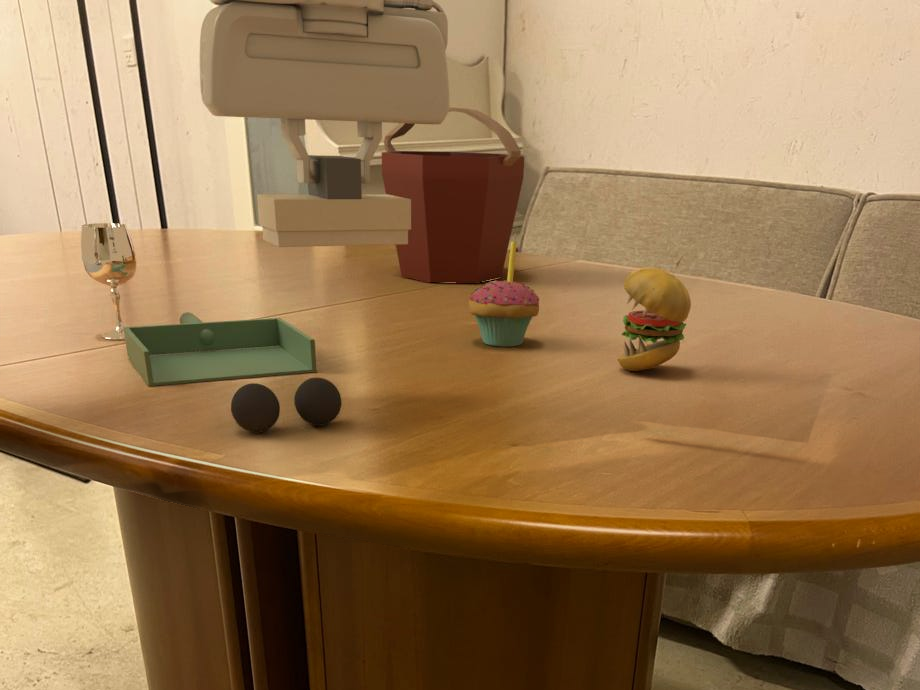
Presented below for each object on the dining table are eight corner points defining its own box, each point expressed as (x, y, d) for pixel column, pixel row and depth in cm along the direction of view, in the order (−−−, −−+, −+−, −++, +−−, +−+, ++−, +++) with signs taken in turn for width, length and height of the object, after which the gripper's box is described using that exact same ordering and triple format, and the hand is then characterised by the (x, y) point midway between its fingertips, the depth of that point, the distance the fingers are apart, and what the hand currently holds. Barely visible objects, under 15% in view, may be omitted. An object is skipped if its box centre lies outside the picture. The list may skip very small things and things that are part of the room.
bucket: (357, 271, 159) (351, 104, 147) (453, 262, 173) (455, 108, 160) (451, 291, 144) (453, 106, 132) (549, 280, 157) (559, 110, 145)
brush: (411, 244, 81) (411, 159, 78) (277, 247, 76) (271, 157, 73) (389, 238, 85) (388, 156, 81) (260, 240, 80) (253, 153, 76)
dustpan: (316, 371, 97) (314, 339, 95) (148, 386, 90) (143, 351, 88) (258, 330, 114) (256, 302, 113) (114, 340, 107) (109, 310, 106)
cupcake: (487, 333, 117) (490, 229, 111) (549, 341, 114) (555, 235, 108) (455, 345, 110) (457, 236, 104) (520, 354, 107) (526, 242, 101)
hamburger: (625, 360, 106) (637, 247, 100) (687, 368, 103) (703, 252, 97) (606, 374, 99) (618, 255, 94) (673, 383, 97) (689, 260, 91)
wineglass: (85, 336, 109) (65, 224, 103) (126, 329, 113) (110, 221, 107) (116, 343, 106) (97, 229, 100) (157, 335, 110) (142, 225, 104)
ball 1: (254, 441, 76) (249, 392, 74) (223, 431, 78) (218, 384, 76) (291, 431, 79) (288, 384, 77) (260, 421, 81) (256, 375, 79)
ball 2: (318, 434, 78) (315, 386, 76) (286, 424, 80) (282, 378, 78) (351, 424, 81) (350, 378, 79) (320, 415, 83) (317, 370, 81)
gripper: (431, -1, 78) (429, 181, 85) (184, -26, 69) (204, 179, 76) (464, -8, 73) (460, 186, 80) (203, -35, 65) (223, 185, 71)
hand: (333, 183), depth 78 cm, fingers closed on brush, 3 cm apart
